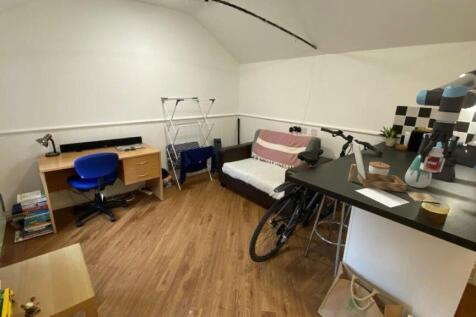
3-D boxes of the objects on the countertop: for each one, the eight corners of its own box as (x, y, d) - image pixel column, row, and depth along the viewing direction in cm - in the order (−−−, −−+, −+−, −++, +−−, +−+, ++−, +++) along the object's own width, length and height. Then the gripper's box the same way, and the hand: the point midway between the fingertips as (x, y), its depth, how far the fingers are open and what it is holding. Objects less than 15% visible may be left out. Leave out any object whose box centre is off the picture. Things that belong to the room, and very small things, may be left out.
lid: (353, 140, 130) (352, 140, 130) (359, 145, 117) (358, 145, 118) (359, 170, 134) (357, 171, 134) (365, 178, 122) (364, 179, 122)
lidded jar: (390, 180, 134) (394, 165, 131) (370, 178, 136) (373, 163, 133) (382, 174, 144) (386, 160, 141) (364, 172, 146) (367, 158, 143)
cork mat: (427, 194, 117) (427, 193, 117) (439, 204, 107) (439, 202, 107) (405, 192, 119) (406, 191, 118) (415, 201, 109) (415, 199, 109)
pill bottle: (419, 169, 110) (425, 147, 107) (425, 167, 113) (432, 146, 110) (434, 173, 105) (441, 150, 102) (440, 171, 108) (448, 149, 104)
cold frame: (394, 182, 132) (398, 165, 129) (405, 192, 119) (410, 174, 116) (345, 176, 137) (348, 160, 134) (351, 185, 124) (355, 168, 121)
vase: (430, 192, 120) (440, 160, 115) (403, 186, 126) (412, 155, 121) (426, 185, 130) (436, 155, 124) (402, 180, 136) (410, 151, 130)
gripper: (464, 122, 103) (448, 169, 110) (417, 119, 107) (404, 165, 114) (477, 124, 96) (458, 175, 103) (425, 121, 100) (411, 170, 107)
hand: (430, 169), depth 109 cm, fingers closed on pill bottle, 6 cm apart
